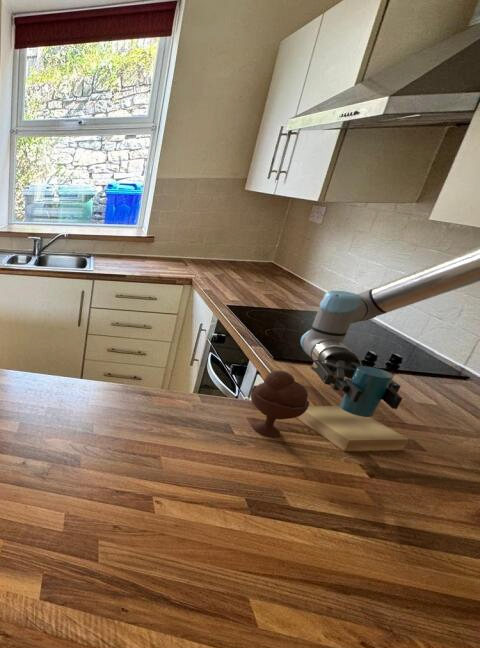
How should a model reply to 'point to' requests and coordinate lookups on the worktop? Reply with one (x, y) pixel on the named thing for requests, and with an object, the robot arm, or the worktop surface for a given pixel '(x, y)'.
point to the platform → (351, 430)
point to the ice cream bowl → (278, 401)
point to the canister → (367, 391)
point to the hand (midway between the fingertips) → (377, 399)
